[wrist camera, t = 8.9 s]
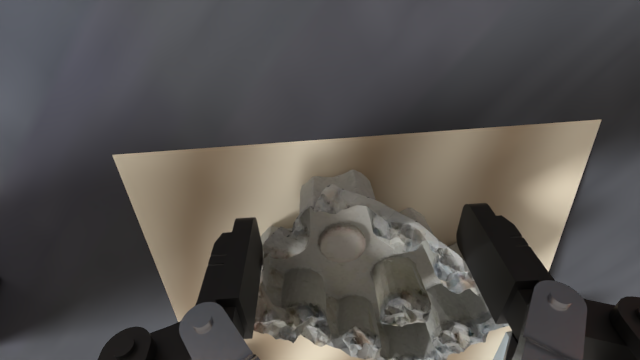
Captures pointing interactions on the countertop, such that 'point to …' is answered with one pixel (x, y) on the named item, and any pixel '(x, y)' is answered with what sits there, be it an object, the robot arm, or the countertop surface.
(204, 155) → the beige and grey tray
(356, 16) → the countertop surface
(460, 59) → the countertop surface
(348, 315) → the grey irregular chunky piece
